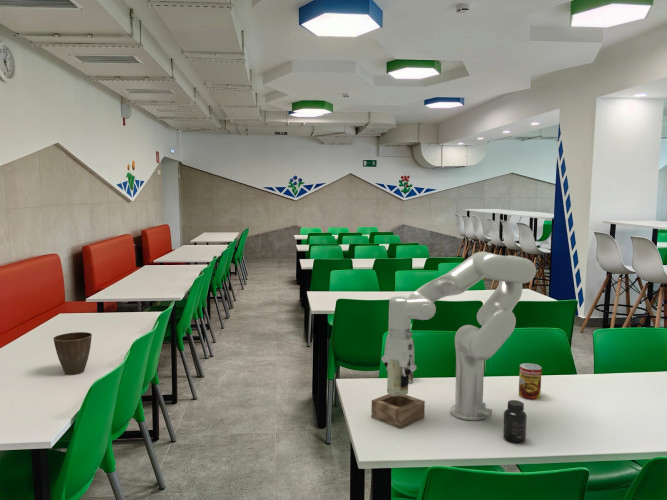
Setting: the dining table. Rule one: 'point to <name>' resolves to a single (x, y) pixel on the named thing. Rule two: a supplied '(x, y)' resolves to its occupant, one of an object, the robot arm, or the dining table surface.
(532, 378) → the canned food
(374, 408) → the socket block
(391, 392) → the skincare box
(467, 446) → the dining table surface
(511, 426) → the supplement bottle
